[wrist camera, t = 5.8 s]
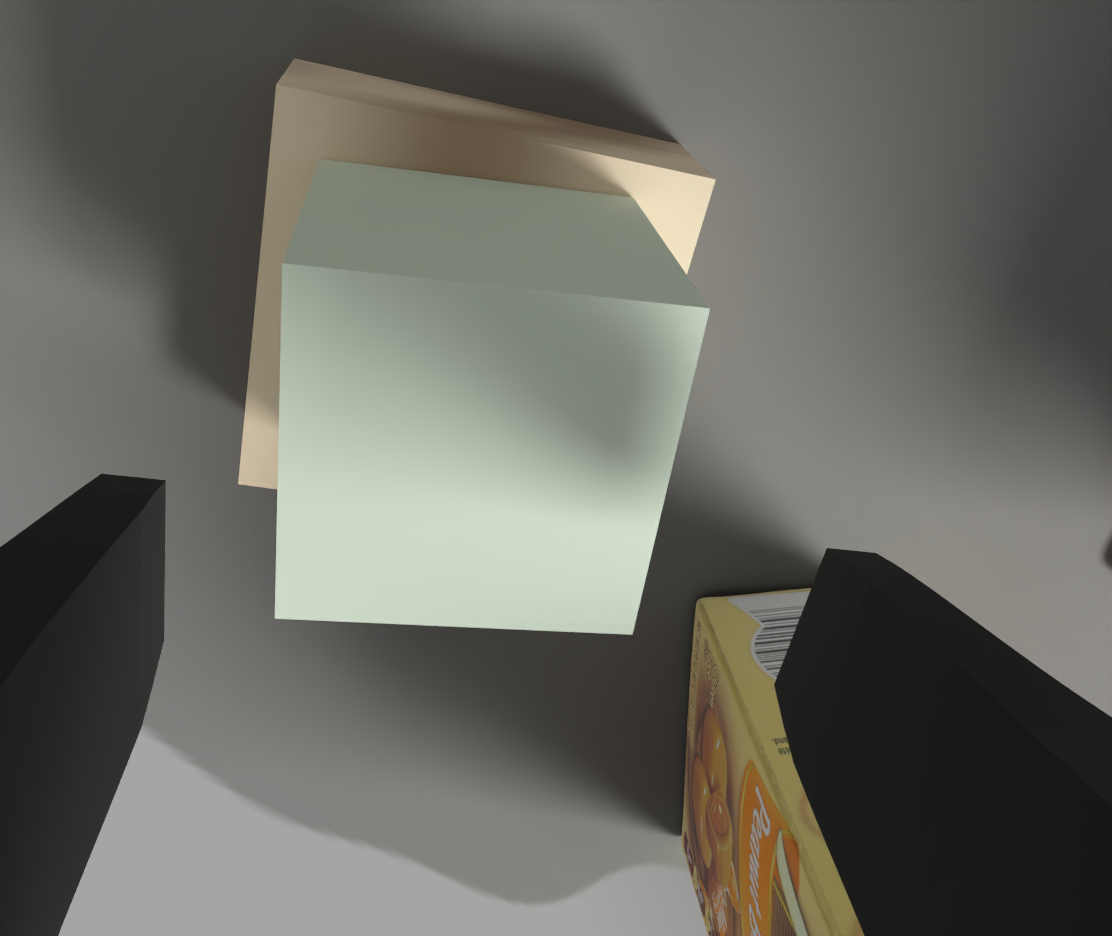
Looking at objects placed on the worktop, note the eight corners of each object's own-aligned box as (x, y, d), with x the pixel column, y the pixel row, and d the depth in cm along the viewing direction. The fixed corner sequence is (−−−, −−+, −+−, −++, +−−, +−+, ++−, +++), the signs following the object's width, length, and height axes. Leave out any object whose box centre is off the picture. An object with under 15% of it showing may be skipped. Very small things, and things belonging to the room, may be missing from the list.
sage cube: (633, 197, 16) (709, 308, 12) (583, 463, 19) (632, 635, 15) (319, 158, 16) (281, 263, 11) (308, 442, 18) (274, 618, 14)
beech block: (675, 139, 19) (715, 179, 16) (585, 458, 22) (608, 532, 20) (296, 54, 18) (276, 84, 15) (260, 409, 21) (238, 484, 18)
